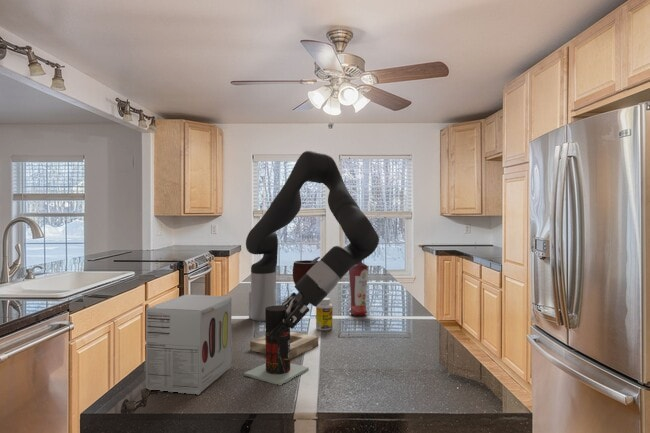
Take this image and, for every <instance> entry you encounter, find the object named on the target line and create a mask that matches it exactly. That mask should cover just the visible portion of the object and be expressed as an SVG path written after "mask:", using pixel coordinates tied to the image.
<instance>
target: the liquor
mask: <svg viewBox="0 0 650 433" xmlns="http://www.w3.org/2000/svg"><path fill="white" fill-rule="evenodd" d="M368 267H369V266H368V265H367V264H366V263H363V260H362V261H361V262H359V263H358V264H356V265H354V266H353V267H351V268H350V270H349V271H348V280H349V282H348V283H349V295H350V296H349V303H350V304H349V306H350V310H349V313H350V314H351V315H352V316H353V317H357V318H358V317H364V316H365V315H366V314H368V311H367V288H368Z"/></svg>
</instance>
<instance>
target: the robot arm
mask: <svg viewBox="0 0 650 433" xmlns="http://www.w3.org/2000/svg"><path fill="white" fill-rule="evenodd" d="M307 182H310V183H315V184H316V183H317V184H323V185H324V186H325V187H326V188H327V189H328V191H329V192H328V195H327V205H328V208H329V211H330V212H331V214H332V215H333V217H334V219H335V220H336V222H337V223H338V224H339V225H340V227H341V229H342V231H343V233H344V235H345V237H346V239H347V240H348V242H349V244H347V245H345V246H344V247H341V246H339V245H335V246H332V247H331V248H329V250H328V251H327V252H326V253H325V254H324V255H323V256H322V257H321V258H320V260H318V261H319V262H317V263H316V264H315V265H314V266H313V267H312V268H311V269H310V270H309V271H308V272H307V273H306V274H305V275H304V276H303V277H302V278H301V279H300V280H299V281H298V282H297V283H296V284H295V283H294V288H295V289H296V290H297V292H298V293H296V292H292V293H291V295H289V296H288V297H287V298H286V299H285V301H284V302H282V303H281V305H282V306H288V308H287V310H286V311H285V317H284V318H283V319H282V321H281V322H280V323H279V324H278V325H277V326H276V327H275V328H274V329H273V331H272V332H271V336H272V337H273V338H274V339H276V340H278V339H279V338H280V337H281V335H282V334H283V333H284V332H285V331H286V330H287V329H288V328H289V329H290V330H291V329H292V330H293V329H295V327H296V326H297V325H298V324H299V323H300V321H301V320H302V319H303V318H304V317H305V316H306V315H307V313H309V312H310V308H309V307H308V306H309V304H311V306H313V307H315V308H316V306H318V304H319V303H320V302H321V301H322V300H323V299H324V298H327V296H328V295H329V294H330V293H331V292H332V291H333V289H335V288H336V286H337V285H338V283H339V282H340V281H341V280H342V278H343V277H345V275H346V274H347V273H349V270H350V268H351V267H353V266H354V265H356V264H358V263H359V262H361V261H362V262H363V261H364V260H365V259H367V258H368V257H370V256H371V255H372V254H373V253H374V252H375V250H376V249H377V247H378V246H379V242H380V238H379V235H378V233H377V231H376V230H375V228H374V226H373V224H372V223H371V221H370V219H369V218H368V217H367V216H366V214H365V213H364V212H363V211H362V210H361V208H360V207H359V205H358V203H357V201H355V200H354V197H353V196H352V195H351V193H350V191H349V190H348V188H347V186H346V185H345V181H344V179H343V177H342V174H341V173H340V170H339V168H338V165H337V163H336V160H334V158H333V157H332V156H331V155H329V154H327V153H323V152H317V151H312V150H305V151H304V152H302V153H301V154H300V155H299V157H298V158H297V161H296V162H295V164H294V166H293V168H292V169H291V172H290V174H289V176H288V177H287V179H286V180H285V183H284V184H283V186H282V187H281V189H280V191H279V192H278V193H277V194H276V196H275V198H274V199H273V200H272V202H271V203H270V205H269V206H268V208H267V210H266V211H265V212H264V214H263V216H262V217H261V218H260V219H259V221H258V222H256V224H255V225H254V227H252V229H251V230H249V232H248V234H247V236H246V239H245V247H246V250H247V252H248V253H250V254H251V255H262V258H261V259H260V260H258V261H256V262H254V263H252V265H251V266H250V292H248V318H249V319H251V320H252V321H257V322H264V321H265V308H266V307H269V306H277V272H276V271H277V266H278V250H279V238H278V235H277V231H280V230H281V229H283V228H285V227H287V226H288V225H289V224H291V222H293V220H294V219H295V218H296V216H297V215H298V214H299V212H300V210H301V208H302V196H301V189H302V188H303V186H304V184H305V183H307Z"/></svg>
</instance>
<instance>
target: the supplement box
mask: <svg viewBox="0 0 650 433" xmlns="http://www.w3.org/2000/svg"><path fill="white" fill-rule="evenodd" d="M232 299H233V298H232V296H230V295H229V296H226V295H224V296H223V295H208V294H206V295H205V294H203V295H202V294H183V295H180V296H178V297H174V298H172V299H169V300H165V301H163V302H161V303H157V304H155V305H152V306H149V307H147V308H146V307H145V308H146V311H145V389H146V388H148V389H155V390H160V391H159V392H163V391H168V392H167V393H173V392H178V393H177V394H184V393H186V394H185V395H195V394H196V396H197V395H201V393H203V392H204V391H205V389H207V388H208V387H209V386H211V385H212V384H214V382H216V380H217V379H219V378H220V377H221V376H223V375H224V374H225V373H226V372H227V371H228V370H230V368H232V314H233V313H232V312H233V311H232V310H233V309H232V308H233V307H232V305H233V304H232V303H233V302H232Z"/></svg>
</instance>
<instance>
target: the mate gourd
mask: <svg viewBox="0 0 650 433" xmlns="http://www.w3.org/2000/svg"><path fill="white" fill-rule="evenodd" d="M319 259H321V257H320V256H317V257H315V258H314V259H312V260H310V259H307V260H304V259H303V260H296V261H293V265H292V280H293V283H294V285H295V284H296V283H297V282H298V281H299V280H300V279H301V278H302V277H303V276H304V275H305V274H306V273H307V272H308V271H309V270H310V269H311V268H312V267H313V266H314V265H315V264H316V263H317V262H319V261H320V260H319Z"/></svg>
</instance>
